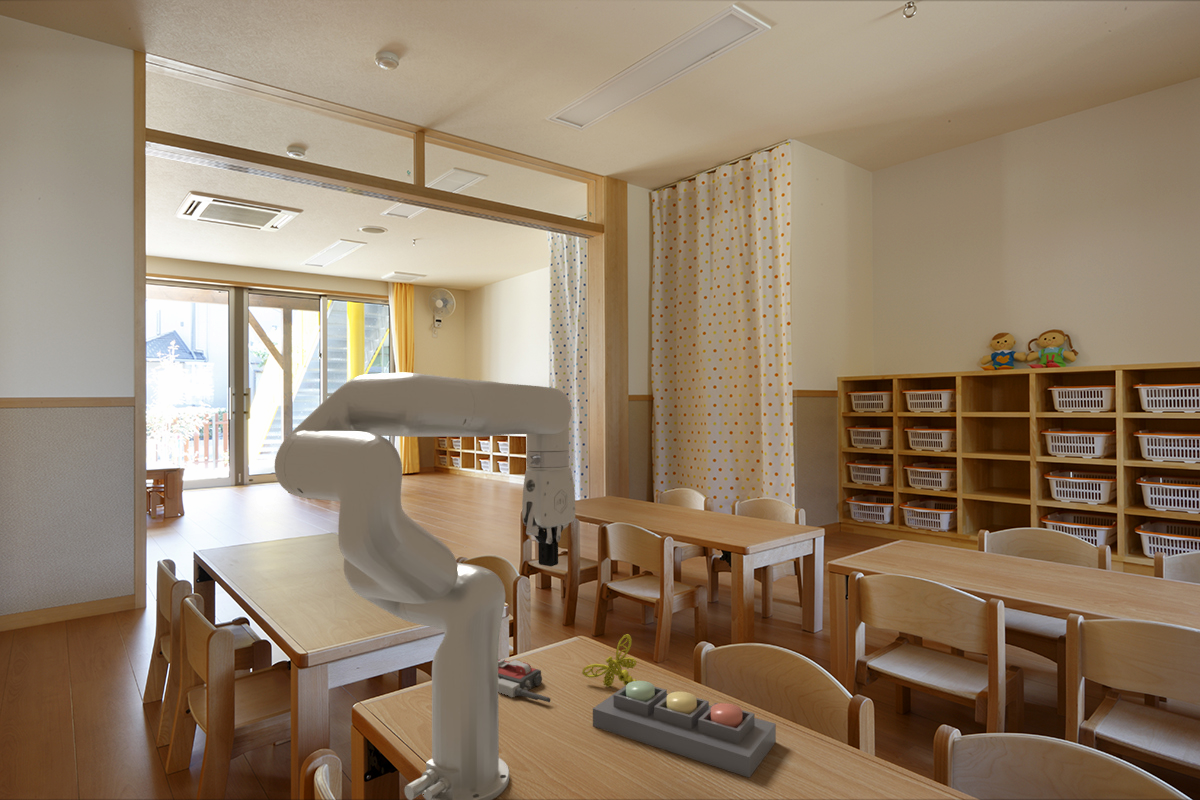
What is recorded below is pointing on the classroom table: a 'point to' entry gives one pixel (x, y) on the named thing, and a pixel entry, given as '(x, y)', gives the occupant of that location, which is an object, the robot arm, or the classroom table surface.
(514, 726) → the classroom table surface
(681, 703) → the mustard button
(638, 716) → the button panel
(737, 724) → the red button
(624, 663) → the decorative insect
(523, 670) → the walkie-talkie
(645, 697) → the sage button
